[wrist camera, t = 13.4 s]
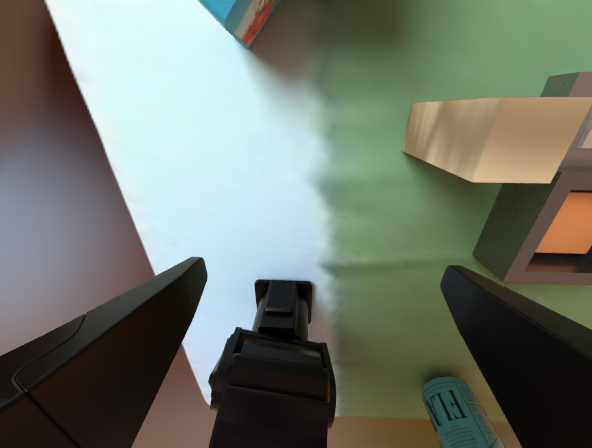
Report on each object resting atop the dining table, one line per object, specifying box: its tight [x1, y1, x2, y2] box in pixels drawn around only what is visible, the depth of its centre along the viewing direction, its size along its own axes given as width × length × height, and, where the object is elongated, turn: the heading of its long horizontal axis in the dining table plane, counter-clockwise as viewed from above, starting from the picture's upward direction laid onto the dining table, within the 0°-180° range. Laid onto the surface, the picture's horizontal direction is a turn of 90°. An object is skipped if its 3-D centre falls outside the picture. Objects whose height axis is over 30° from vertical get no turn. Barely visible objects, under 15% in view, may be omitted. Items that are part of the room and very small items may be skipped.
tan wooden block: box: [402, 97, 592, 183], centre depth 14 cm, size 4×4×9 cm
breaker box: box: [473, 72, 592, 285], centre depth 17 cm, size 15×9×4 cm, turn 0°
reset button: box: [535, 190, 592, 254], centre depth 19 cm, size 6×6×2 cm
